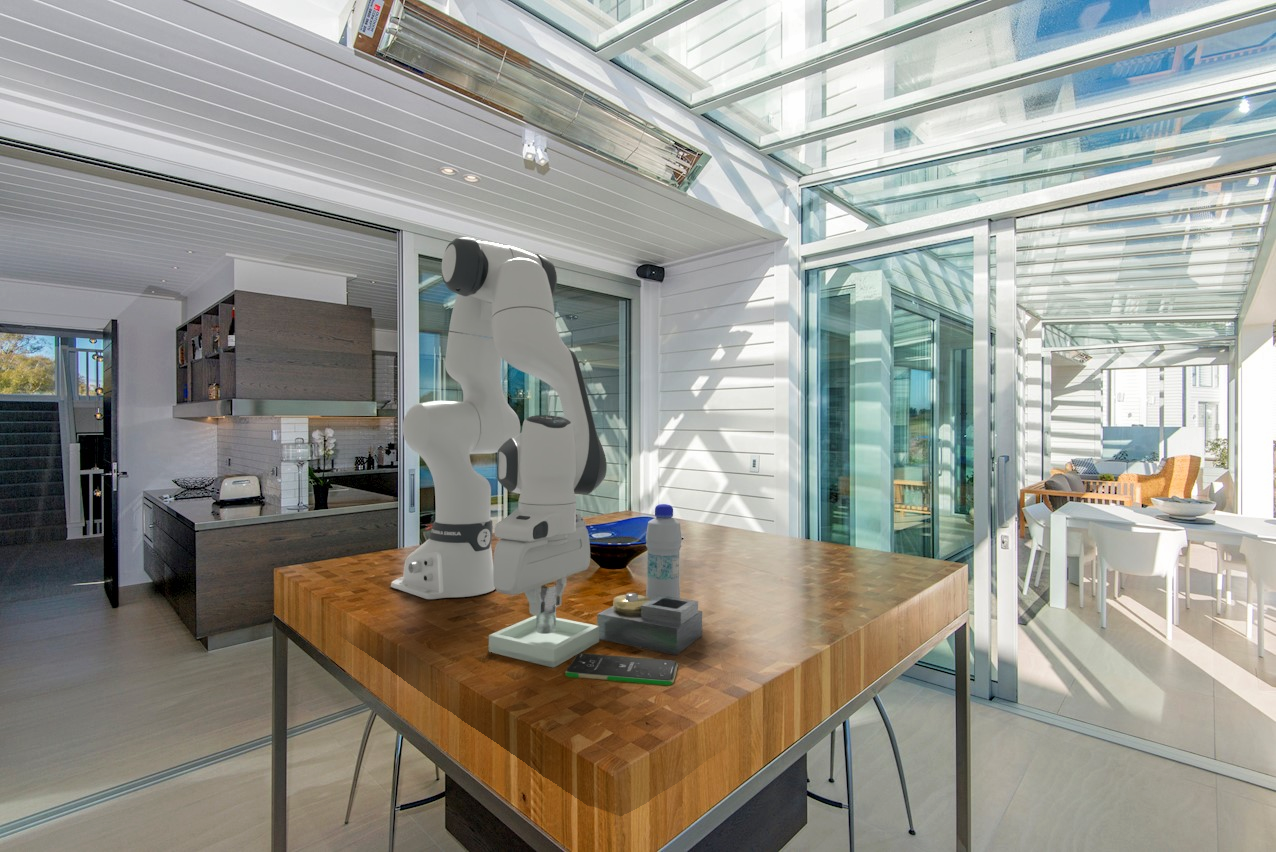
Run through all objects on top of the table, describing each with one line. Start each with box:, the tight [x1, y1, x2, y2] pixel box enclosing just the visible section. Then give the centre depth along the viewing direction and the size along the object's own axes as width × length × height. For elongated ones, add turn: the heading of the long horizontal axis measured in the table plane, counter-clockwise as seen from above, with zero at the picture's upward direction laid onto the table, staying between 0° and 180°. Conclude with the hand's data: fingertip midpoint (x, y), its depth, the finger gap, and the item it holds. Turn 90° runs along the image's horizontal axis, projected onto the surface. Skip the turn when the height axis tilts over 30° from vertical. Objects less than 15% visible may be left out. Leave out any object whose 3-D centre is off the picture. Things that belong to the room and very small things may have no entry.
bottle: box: [645, 503, 683, 601], centre depth 110 cm, size 7×7×20 cm
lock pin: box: [536, 580, 557, 634], centre depth 92 cm, size 3×3×8 cm
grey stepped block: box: [596, 592, 703, 656], centre depth 97 cm, size 14×10×6 cm
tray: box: [488, 615, 600, 669], centre depth 92 cm, size 12×12×2 cm
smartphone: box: [564, 652, 679, 686], centre depth 84 cm, size 8×1×15 cm
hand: (545, 610), depth 92 cm, fingers closed on lock pin, 3 cm apart
